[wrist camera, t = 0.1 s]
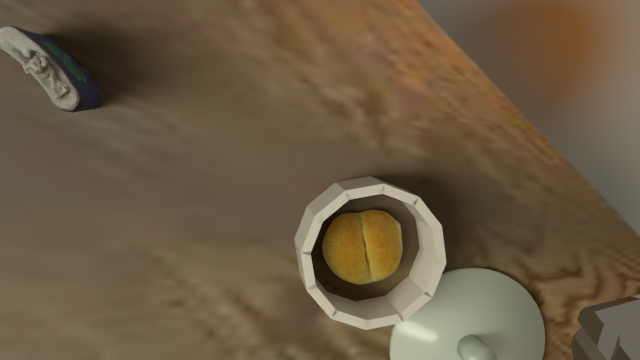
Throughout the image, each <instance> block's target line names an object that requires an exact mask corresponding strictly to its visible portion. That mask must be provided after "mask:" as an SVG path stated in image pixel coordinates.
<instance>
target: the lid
mask: <svg viewBox="0 0 640 360" xmlns="http://www.w3.org/2000/svg"><path fill="white" fill-rule="evenodd" d="M544 349H545V329H544V323H543V319H542V316H541V313H540V310H539V308H538V306H537V304H536V302H535V301H534V299H533V298H532V296H531V295H530V294H529V293H528V292H527V291H526V289H525V288H523V287H522V286H521V285H520V284H519V283H518V282H516V281H514V280H513V279H511V278H510V277H508V276H506V275H504V274H502V273H500V272H498V271H494V270H491V269H486V268H479V267H467V268H460V269H455V270H451V271H448V272H445V273H443V274H442V275H441V278H440V280H439V283H438V285H437V287H436V290H435V292H434V295H433V297H432V298H431V299H430V300H429V301H428V302H427V303H426V304H424V305H423V306H422V307H421V308H420V309H418V310H417V311H416V312H415V313H414V314H412V315H411V316H410V317H409V318H408V319H406V320H405V321H404V322H402V323H397V324H394V327H393V330H392V334H391V339H390V351H389V352H390V360H542V359H543V355H544Z"/></svg>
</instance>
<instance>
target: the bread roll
mask: <svg viewBox="0 0 640 360" xmlns="http://www.w3.org/2000/svg"><path fill="white" fill-rule="evenodd" d="M402 250H403V248H402V235H401V227H400V224H399V222H397V221H396V220H394V218H393V217H392V216H391V215H389V214H388V213H386V212H383V211H379V210H367V211H363V212H360V213H344V214H341V215H339V216H337V217H336V218H335V219H334V220H333V221H332V223H331V224H330V226H329V227H328V229H327V231H326V233H325V236H324V239H323V244H322V251H323V256H324V259H325V261H326V263H327V265H328V266H329V268H330V269H331V270H332V272H333V273H334V274H335V275H336V276H338V277H339V278H341V279H343V280H345V281H348V282H351V283H353V284H367V283H371V282H375V281H379V280H382V279H384V278H386V277H388V276H390V275H391V274H393V273H394V272H395V271H396V269H397V268H398V266H399V263H400V260H401V254H402Z"/></svg>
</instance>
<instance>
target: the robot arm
mask: <svg viewBox="0 0 640 360" xmlns="http://www.w3.org/2000/svg"><path fill="white" fill-rule="evenodd" d="M578 321H579V323H580V324H581V326H582V327H581V328H580V329H579V330H578V331H577V332H576V333H575V334H574V335H573V340H572V345H571V348H572V353H573V359H574V360H640V294H638V295H634V296H627V297H623V298H619V299H616V300H612V301H608V302H604V303H600V304H596V305H592V306H589V307H585V308H584V309H582V310H581V311H580V314H579V317H578Z"/></svg>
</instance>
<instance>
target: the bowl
mask: <svg viewBox="0 0 640 360" xmlns="http://www.w3.org/2000/svg"><path fill="white" fill-rule="evenodd" d="M378 194H385V195H388V196H390V197H393V198H396V199H398V200H401V201H402V202H403V203H404V205H405V206H406V207H407V209H408V210H409V211H410V212H411V214H412V215H413V216H414V217H415V219H416V226H417V233H418V241H419V251H418V253H417V256H416V258H415V261H414V263H413V266H412V268H411V271H410V273H409V276H408V277H407V278H405V279H404V280H403V281H402V282H401V283H399V284H398V285H397V286H396V287H395V288H393V289H392V290H391V291H390V292H389V293H387V294H386V295H385V296H380V297H375V298H370V299H365V300H360V301H353V300H350V299H347V298H344V297H341V296H338V295H335V294H332V293H329V292H327V291H326V290H325V288H324V287H323V286H322V285H321V284H320V283H319V281H318V280H317V279H316V278H315V277H314V271H313V265H312V259H311V251H312V249H313V246H314V244H315V241H316V238H317V236H318V233H319V231H320V228H321V225H322V223H323V221H324V220H326V219H327V218H328V217H329V216H330V215H332V214H333V213H334V212H335V211H336V210H338V209H339V208H340V207H341V206H342V205H344V204H345V203H346V202H347V201H348V200H351V199H356V198H362V197H367V196H373V195H378ZM294 240H295V246H296V252H297V258H298V264H299V270H300V275H301V277H302V280H303V282H304V285H305V287H306V290H307V291H308V293H309V294H310V295H311V296H312V297H313V298H314V299H315V301H316V302H317V303H318V304H319V305H320V306H321V308H322V309H323V310H324V311H325V312H326V313H327V315H328V316H329V317H330V318H331V319H334V320H337V321H340V322H343V323H346V324H349V325H352V326H356V327H359V328H362V329H365V330H369V329H373V328H378V327H383V326H388V325H392V324H397V323H402V322H404V321H405V320H406V319H408V318H409V317H410V316H411V315H412V314H414V313H415V312H416V311H417V310H418V309H420V308H421V307H422V306H423V305H424V304H426V303H427V302H428V301H429V300H430V299H431V298H432V297H433V295H434V292H435V290H436V287H437V285H438V283H439V280H440V278H441V275H442V273H443V270H444V268H445V265H446V255H445V247H444V239H443V231H442V225H441V224H440V223H439V222H438V220H437V219H436V218H435V216H434V215H433V214H432V213H431V211H430V210H429V209H428V208H427V206H426V205H425V204H424V202H423V201H422V200H421V199H420V197H418V196H417V195H415V194H413V193H411V192H409V191H407V190H405V189H403V188H401V187H398V186H395V185H393V184H390V183H387V182H385V181H382V180H379V179H377V178H374V177H371V176H368V177H363V178H357V179H352V180H346V181H340V182H335V183H334V184H333V185H331V186H330V187H329V188H328V189H327V190H325V191H324V192H323V193H322V194H321V195H319V196H318V197H317V198H316V199H315V200H313V201H312V202H311V203H310V204H309V205H307V208H306V210H305V213H304V215H303V218H302V221H301V223H300V226H299V228H298V231H297V234H296V236H295V239H294Z"/></svg>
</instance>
